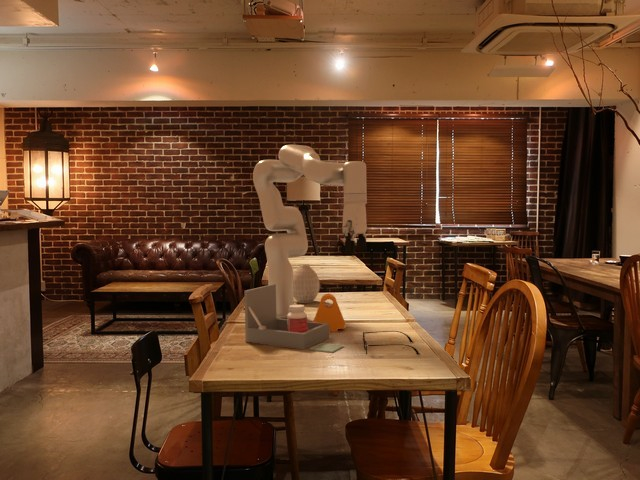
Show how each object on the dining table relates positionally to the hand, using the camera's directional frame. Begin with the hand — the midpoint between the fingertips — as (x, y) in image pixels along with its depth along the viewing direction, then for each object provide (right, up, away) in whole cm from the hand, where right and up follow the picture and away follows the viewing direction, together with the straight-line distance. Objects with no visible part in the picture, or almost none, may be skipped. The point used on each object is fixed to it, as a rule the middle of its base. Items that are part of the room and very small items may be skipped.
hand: (355, 251), depth 176 cm
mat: (-10, -28, -19) cm, 35 cm away
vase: (-18, -24, +60) cm, 67 cm away
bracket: (-9, -27, +7) cm, 29 cm away
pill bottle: (-19, -28, -9) cm, 35 cm away
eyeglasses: (+9, -28, -20) cm, 35 cm away
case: (-21, -28, -8) cm, 36 cm away
